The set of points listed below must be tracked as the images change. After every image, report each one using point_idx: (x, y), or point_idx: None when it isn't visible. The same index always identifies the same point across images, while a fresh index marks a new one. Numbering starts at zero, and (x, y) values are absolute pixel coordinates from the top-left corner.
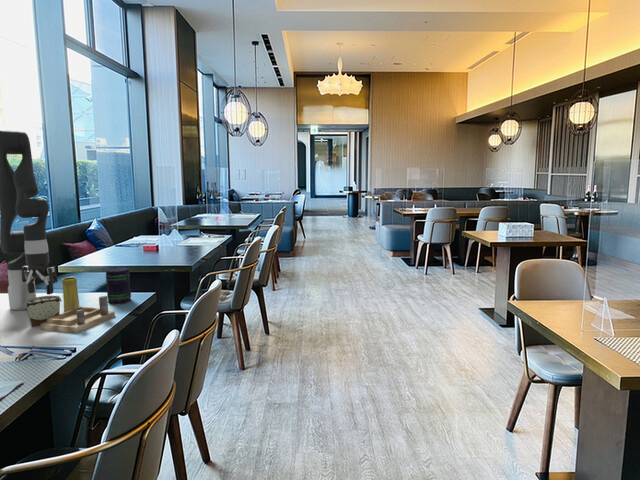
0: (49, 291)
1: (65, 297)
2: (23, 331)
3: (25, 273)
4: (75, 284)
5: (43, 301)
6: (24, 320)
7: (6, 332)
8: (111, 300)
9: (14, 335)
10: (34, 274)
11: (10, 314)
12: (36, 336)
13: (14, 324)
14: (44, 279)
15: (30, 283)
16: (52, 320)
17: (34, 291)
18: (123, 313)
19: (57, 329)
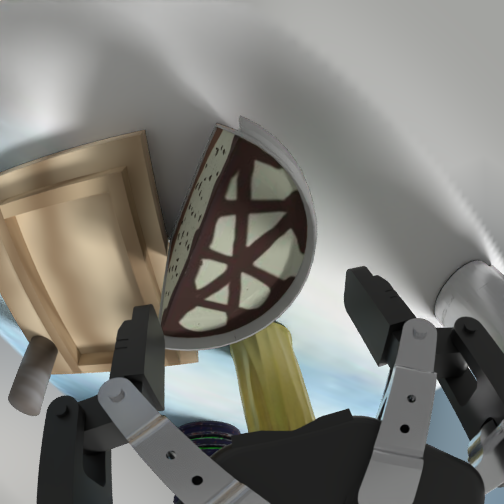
0: (128, 330)
1: (273, 381)
2: (201, 68)
3: (489, 404)
4: None
5: (191, 251)
6: (360, 191)
7: (276, 28)
8: (201, 432)
9: (186, 12)
10: (348, 460)
11: (461, 225)
12: (64, 58)
13: (355, 132)
14: (141, 432)
15: (391, 340)
16: (83, 179)
17: (346, 305)
18: (66, 383)
19: (45, 157)
